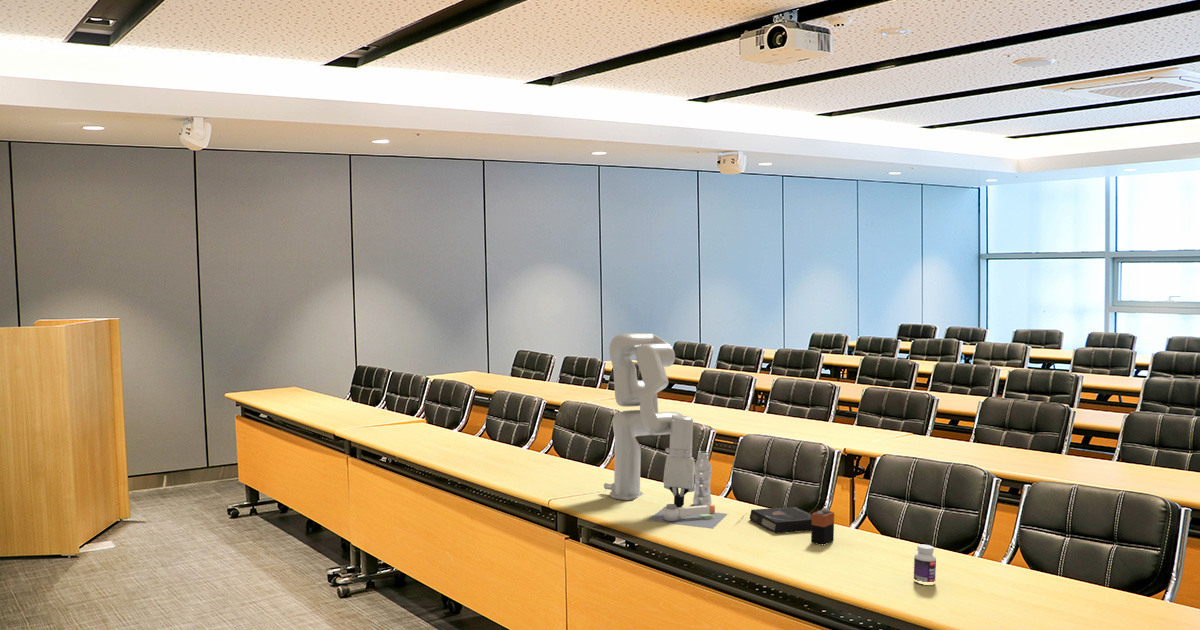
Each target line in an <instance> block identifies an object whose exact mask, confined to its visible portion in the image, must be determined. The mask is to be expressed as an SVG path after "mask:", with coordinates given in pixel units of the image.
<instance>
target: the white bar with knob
mask: <svg viewBox="0 0 1200 630" xmlns="http://www.w3.org/2000/svg"><path fill="white" fill-rule="evenodd" d="M665 505H666V506H664V507H663V508H662V509H663V519H664V520H666V521H677V520H679V516H688V515H701V514H715V512H716V505H715V504H712V503H711V504H709V505H704V506H694V505H692V506H682V507H676V505H675V504H674V503H667V504H665Z"/></svg>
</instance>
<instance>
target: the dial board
mask: <svg viewBox="0 0 1200 630" xmlns="http://www.w3.org/2000/svg"><path fill="white" fill-rule="evenodd" d="M727 515H728V513H723V512H716V511H715V514H701V515H688V516H679V520H677V521H666V520H664V519H663V508H661V509H660V510H659V511H657V512H656V513H655V514H654V515H652V516H651V517H649V518H648V519H647V520H646V522H655V523H662V524H663V523H664V524H672V525H679V526H688V527H697V528H703V529H704V528H705V529H714V528H715V527H717V526H718V524H719V523H721V522H722V520H724V518H725V517H727Z"/></svg>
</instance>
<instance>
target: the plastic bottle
mask: <svg viewBox="0 0 1200 630" xmlns="http://www.w3.org/2000/svg"><path fill="white" fill-rule="evenodd" d="M709 455H710V453H709V451H706V450H705V451H700V450H699V451H698V453H697V458H698V459H697V460H696V462H694V463H695V477H696V479H695V491H693V492H694V494H693V499H692V504H693V505H692V506H704V505H709V504H712V503H713V502H712V495H711V478H712V474H713V473H712V472H713V466H712V463H711V462H710V460H709V457H710V456H709Z"/></svg>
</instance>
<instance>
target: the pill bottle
mask: <svg viewBox="0 0 1200 630" xmlns="http://www.w3.org/2000/svg"><path fill="white" fill-rule="evenodd" d="M934 550H935V549H934V546H932V545H930V544H925V543H924V544H918V545H917V549H916V551H917V552H916V553H915V554H914V558H913V559H914V560H913V580H914V579H915V580H917V581H922V582H934V581H935V582H936V571H937V569H936V567H937V558H936V557H937V556H935V555H934Z"/></svg>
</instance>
